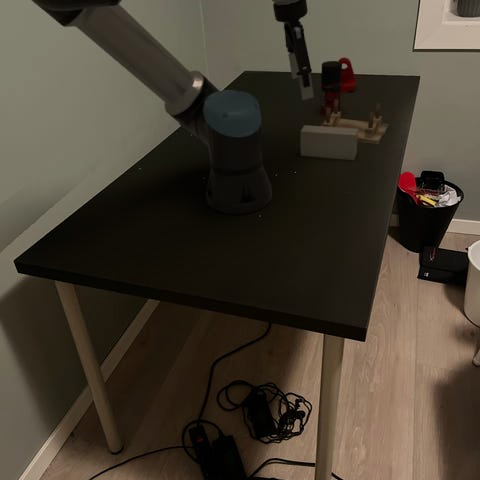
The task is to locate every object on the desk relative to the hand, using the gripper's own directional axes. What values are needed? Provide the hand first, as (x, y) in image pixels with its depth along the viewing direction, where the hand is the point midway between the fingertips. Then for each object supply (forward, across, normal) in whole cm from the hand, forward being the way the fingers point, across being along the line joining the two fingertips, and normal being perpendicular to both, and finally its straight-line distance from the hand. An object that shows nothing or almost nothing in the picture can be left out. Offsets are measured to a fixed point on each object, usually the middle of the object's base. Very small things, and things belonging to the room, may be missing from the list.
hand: (302, 87), depth 121 cm
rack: (+19, +5, -13) cm, 24 cm away
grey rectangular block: (+17, -8, -3) cm, 19 cm away
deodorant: (+20, +21, -10) cm, 31 cm away
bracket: (+23, +41, -19) cm, 51 cm away
